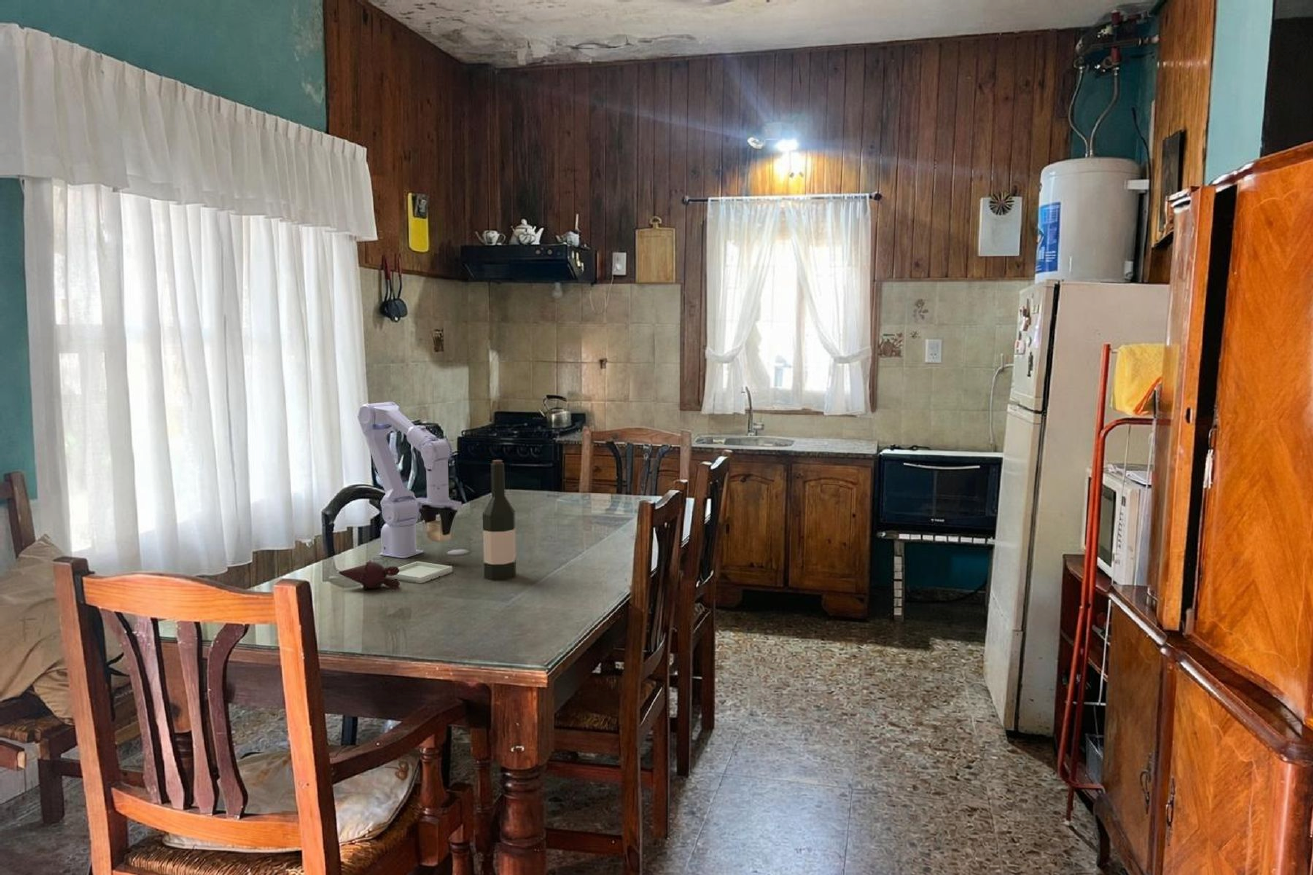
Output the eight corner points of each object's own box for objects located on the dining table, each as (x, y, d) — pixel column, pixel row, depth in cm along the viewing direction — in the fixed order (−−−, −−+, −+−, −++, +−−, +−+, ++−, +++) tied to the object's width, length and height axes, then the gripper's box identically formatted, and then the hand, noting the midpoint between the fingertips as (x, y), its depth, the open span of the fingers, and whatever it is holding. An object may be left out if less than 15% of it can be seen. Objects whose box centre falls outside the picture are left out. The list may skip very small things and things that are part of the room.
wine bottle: (522, 573, 223) (519, 459, 220) (506, 581, 216) (503, 463, 212) (494, 570, 226) (491, 457, 223) (477, 579, 218) (474, 462, 215)
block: (427, 540, 234) (426, 522, 234) (438, 537, 238) (437, 519, 238) (440, 542, 232) (439, 524, 232) (451, 538, 236) (450, 520, 236)
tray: (384, 577, 220) (384, 572, 220) (416, 566, 231) (416, 561, 230) (420, 583, 215) (420, 577, 214) (452, 571, 225) (452, 566, 225)
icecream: (332, 567, 206) (394, 572, 206) (343, 552, 213) (403, 557, 213) (333, 592, 209) (395, 598, 208) (345, 577, 215) (404, 582, 215)
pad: (442, 554, 244) (442, 553, 244) (456, 549, 250) (456, 548, 250) (459, 556, 242) (459, 555, 242) (473, 551, 247) (473, 550, 247)
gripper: (468, 484, 234) (469, 533, 235) (426, 480, 240) (428, 528, 242) (451, 488, 228) (452, 538, 229) (409, 484, 234) (410, 533, 236)
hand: (439, 533), depth 235 cm, fingers closed on block, 4 cm apart
